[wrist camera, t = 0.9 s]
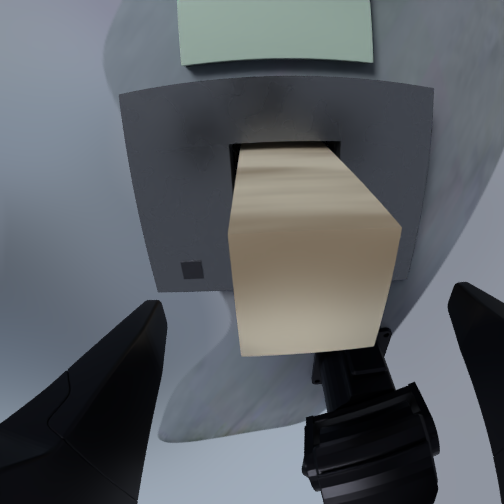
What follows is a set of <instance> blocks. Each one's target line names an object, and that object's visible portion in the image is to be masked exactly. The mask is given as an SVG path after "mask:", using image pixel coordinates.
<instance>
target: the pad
mask: <svg viewBox="0 0 504 504" xmlns="http://www.w3.org/2000/svg"><path fill="white" fill-rule="evenodd" d="M177 9H178V27H179V42H180V55H181V66H191V65H199V64H208V63H218V62H230V61H245V60H267V59H311V60H334V61H348V62H360V63H373V44H372V24H371V10H370V0H177Z"/></svg>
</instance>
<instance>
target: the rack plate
mask: <svg viewBox="0 0 504 504" xmlns="http://www.w3.org/2000/svg"><path fill="white" fill-rule="evenodd" d="M433 98H434V88H428V87H422V86H416V85H410V84H403V83H396V82H388V81H379V80H369V79H357V78H343V77H323V76H264V77H243V78H229V79H217V80H207V81H198V82H190V83H182V84H175V85H168V86H162V87H156V88H150V89H144V90H139V91H134V92H129V93H124V94H120V95H119V101H120V109H121V116H122V123H123V130H124V137H125V143H126V149H127V155H128V161H129V167H130V172H131V177H132V183H133V188H134V193H135V198H136V203H137V208H138V213H139V217H140V222H141V226H142V231H143V235H144V239H145V243H146V248H147V252H148V256H149V260H150V264H151V268H152V271H153V275H154V279H155V282H156V286H157V290H158V292H194V291H226V290H234V288H233V279H232V270H231V261H230V251H229V242H228V229H229V222H230V215H231V208H232V201H233V194H234V187H235V173H234V160H233V147H232V144H237V143H254V142H279V141H329V149H330V150H331V151H332V152H333V153H334V154H335V155H336V156H337V157H338V158H339V159H340V160H341V161H342V162H343V163H344V164H345V165H346V166H347V167H348V168H349V169H350V170H351V171H352V172H353V174H354V175H355V176H356V177H357V178H358V179H359V180H360V181H361V182H362V183H363V184H364V185H365V186H366V187H367V188H368V189H369V191H370V192H371V193H372V194H373V195H374V196H375V197H376V198H377V199H378V200H379V202H380V203H381V204H382V205H383V206H384V207H385V208H386V209H387V211H388V212H389V213H390V214H391V215H392V216H393V218H394V219H395V220H396V221H397V222H398V223H399V225H400V226H401V227H402V230H401V235H400V241H399V246H398V251H397V256H396V261H395V266H394V271H393V275H392V280H391V281H393V280H405V279H407V277H408V273H409V269H410V264H411V260H412V256H413V251H414V247H415V242H416V237H417V232H418V227H419V222H420V217H421V211H422V205H423V199H424V193H425V186H426V179H427V171H428V163H429V154H430V144H431V133H432V118H433Z"/></svg>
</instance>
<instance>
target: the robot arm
mask: <svg viewBox="0 0 504 504" xmlns="http://www.w3.org/2000/svg"><path fill="white" fill-rule="evenodd" d="M448 312H449V315H450V318H451V321H452V324H453V328H454V330H455V334H456V338H457V341H458V344H459V348H460V351H461V353H462V356H463V359H464V361H465V364H466V367H467V369H468V372H469V375H470V378H471V381H472V384H473V386H474V390H475V393H476V396H477V399H478V402H479V405H480V408H481V412H482V415H483V419H484V422H485V426H486V429H487V433H488V437H489V441H490V444H491V449H492V453H493V456H494V457H493V458H494V463H495V468H496V473H497V477H498V484H499V489H500V496H501V502H502V504H504V303H503V302H501V301H499V300H498V299H496V298H494V297H493V296H491V295H489V294H487V293H486V292H484V291H482V290H480V289H478V288H477V287H475V286H473V285H471V284H470V283H468V282H460V283H456V284H455V285H454V288H453V290H452V293H451V296H450V299H449V302H448ZM166 335H167V321H166V317H165V313H164V310H163V306H162V303H161V302H160V301H159V300H147V301H145V302H144V303H143V304H142V305H140V306H139V307H138V308H137V309H136V310H134V311H133V312H132V313H131V314H130V315H129V316H127V317H126V318H125V319H124V320H123V321H122V322H120V323H119V324H118V325H117V326H116V327H115V328H114V329H112V330H111V331H110V332H109V333H108V334H107V335H106V336H104V337H103V338H102V339H101V340H100V341H99V342H98V343H97V344H95V345H94V346H93V347H92V348H91V349H90V350H89V351H88V352H86V353H85V354H84V355H83V356H82V357H81V358H80V359H79V360H77V362H75V363H74V364H73V365H72V366H71V367H70V368H69V369H68V371H65V372H64V373H63V374H62V375H61V376H60V377H59V378H57V379H56V380H55V381H54V382H53V383H52V384H50V386H48V387H47V388H46V389H45V390H43V391H42V392H41V393H40V394H38V395H37V396H36V397H35V398H33V399H32V400H31V401H30V402H28V403H27V404H26V405H25V406H23V407H22V408H20V409H19V410H18V411H17V412H15V413H14V414H12V415H11V416H10V417H9V418H7V419H6V420H5V421H3V422H2V423H0V504H137V503H138V502H137V500H138V495H139V489H140V483H141V477H142V472H143V466H144V460H145V455H146V450H147V444H148V439H149V434H150V429H151V424H152V419H153V414H154V410H155V405H156V400H157V396H158V390H159V386H160V382H161V377H162V371H163V362H164V353H165V344H166ZM391 335H392V333H391V330H390V329H389V328H381V329H379V331H378V334H377V338H376V341H375V344H374V346H372V347H364V348H356V349H347V350H337V351H327V352H315V357H314V364H313V372H312V383H313V384H322V385H323V391H324V396H325V402H326V408H327V413H325V414H321V415H317V416H309V417H306V426H305V428H304V429H305V440H304V441H305V442H304V459H303V465H302V473H303V475H305V476H306V477H308V478H309V480H310V482H311V485H312V487H313V489H314V490H315V491H321V494H322V498H323V502H324V504H433V503H434V501H435V498H436V495H437V492H438V485H437V482H438V479H437V473H436V468H435V463H434V458H433V456H436V455H438V454H439V452H440V446H439V439H438V434H437V430H436V427H435V424H434V421H433V418H432V416H431V414H430V412H429V410H428V407H427V405H426V403H425V402H424V399H423V397H422V395H421V393H420V391H419V389H418V387H417V385H416V383H415V382H413V383H410V384H408V386H406V387H403V388H400V389H398V390H396V389H395V386H394V384H393V381H392V378H391V375H390V372H389V369H388V367H387V364H386V361H385V358H384V356H385V353H386V350H387V347H388V344H389V341H390V338H391Z"/></svg>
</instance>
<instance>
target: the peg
mask: <svg viewBox="0 0 504 504" xmlns="http://www.w3.org/2000/svg"><path fill="white" fill-rule="evenodd" d="M401 230H402V227H401V226H400V225H399V223H398V222H397V221H396V220H395V219H394V218H393V216H392V215H391V214H390V213H389V212H388V211H387V209H386V208H385V207H384V206H383V205H382V204H381V203H380V202H379V200H378V199H377V198H376V197H375V196H374V195H373V194H372V193H371V192H370V191H369V189H368V188H367V187H366V186H365V185H364V184H363V183H362V182H361V181H360V180H359V179H358V178H357V177H356V176H355V175H354V174H353V172H352V171H351V170H350V169H349V168H348V167H347V166H346V165H345V164H344V163H343V162H342V161H341V160H340V159H339V158H338V157H337V156H336V155H335V154H334V153H333V152H332V151H331V150H330V149H329V148H328V147H327V146H326V145H325V144H324V143H323V142H321V141H279V142H254V143H241V147H240V154H239V160H238V167H237V174H236V180H235V187H234V194H233V201H232V208H231V215H230V222H229V229H228V242H229V251H230V261H231V270H232V279H233V288H234V297H235V306H236V315H237V324H238V332H239V340H240V349H241V357H243V356H269V355H287V354H302V353H315V352H327V351H337V350H347V349H356V348H364V347H372V346H374V344H375V341H376V338H377V334H378V331H379V327H380V323H381V320H382V316H383V312H384V308H385V305H386V301H387V297H388V292H389V288H390V284H391V280H392V275H393V271H394V266H395V261H396V256H397V251H398V246H399V241H400V235H401Z"/></svg>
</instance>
